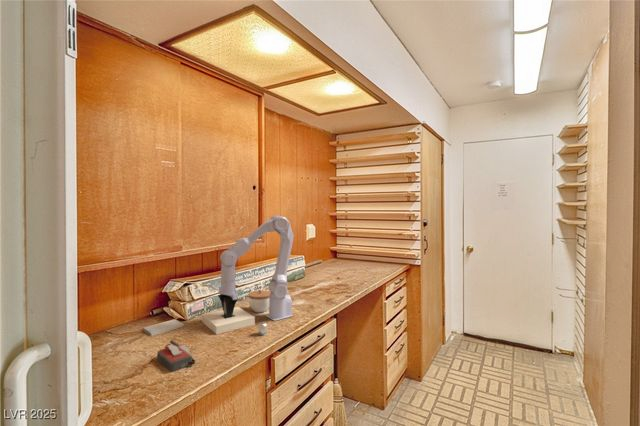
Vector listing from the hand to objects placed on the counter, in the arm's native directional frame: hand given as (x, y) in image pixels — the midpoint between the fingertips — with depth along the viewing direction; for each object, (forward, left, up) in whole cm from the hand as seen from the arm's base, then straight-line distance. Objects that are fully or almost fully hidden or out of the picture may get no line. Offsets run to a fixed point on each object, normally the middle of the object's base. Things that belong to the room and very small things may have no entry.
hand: (228, 312), depth 131 cm
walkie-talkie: (+25, +17, -5) cm, 31 cm away
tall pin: (0, 0, -2) cm, 2 cm away
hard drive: (+22, -10, -5) cm, 25 cm away
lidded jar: (-18, -6, -4) cm, 20 cm away
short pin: (-6, +18, -4) cm, 19 cm away
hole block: (0, 0, -4) cm, 4 cm away
